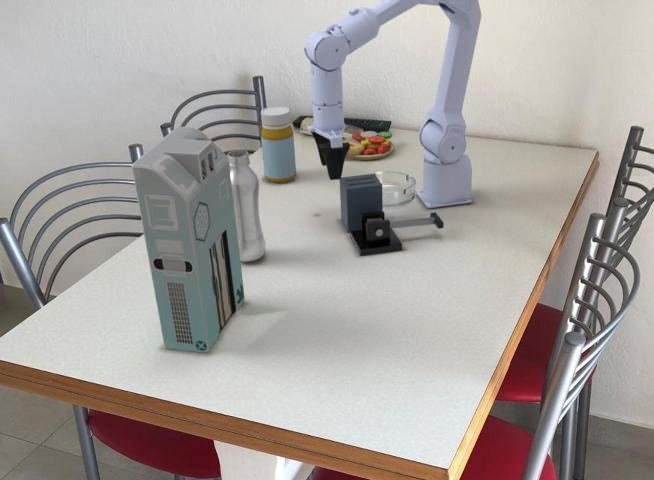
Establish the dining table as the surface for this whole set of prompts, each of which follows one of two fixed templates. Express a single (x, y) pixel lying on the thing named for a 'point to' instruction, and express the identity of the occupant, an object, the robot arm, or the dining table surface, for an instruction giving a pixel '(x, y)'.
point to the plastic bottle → (246, 206)
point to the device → (190, 237)
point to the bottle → (278, 145)
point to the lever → (414, 221)
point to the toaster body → (359, 199)
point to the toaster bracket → (375, 235)
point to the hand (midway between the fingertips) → (331, 171)
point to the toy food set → (369, 145)
